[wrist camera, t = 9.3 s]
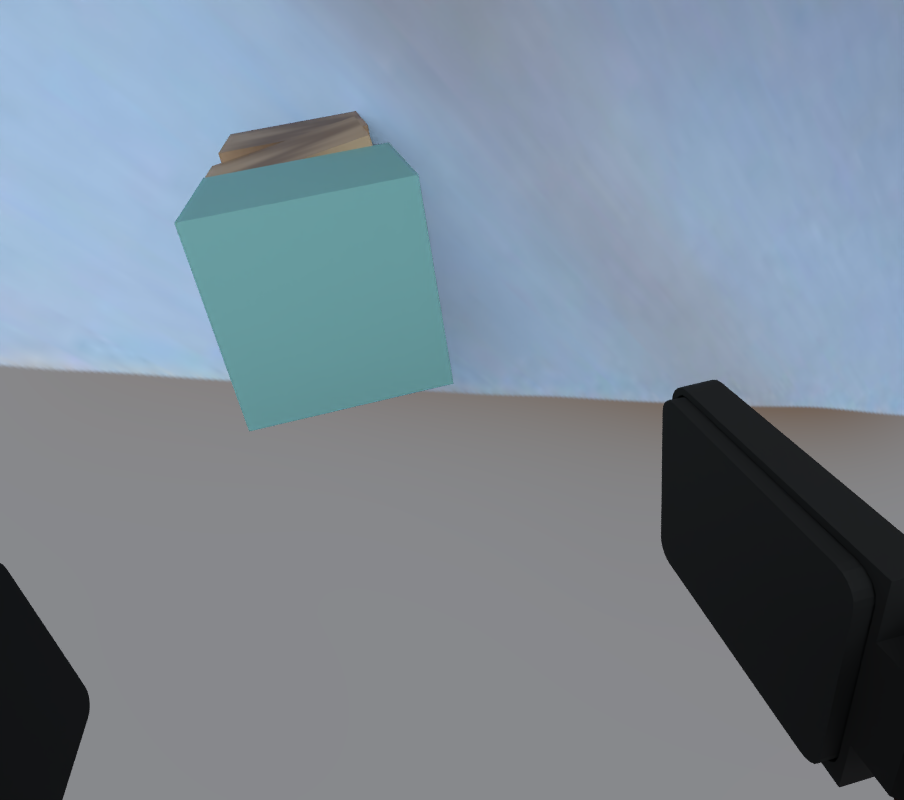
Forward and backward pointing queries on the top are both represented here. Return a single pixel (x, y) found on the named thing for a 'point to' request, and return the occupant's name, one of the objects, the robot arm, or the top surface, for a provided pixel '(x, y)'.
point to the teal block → (318, 283)
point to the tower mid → (301, 147)
